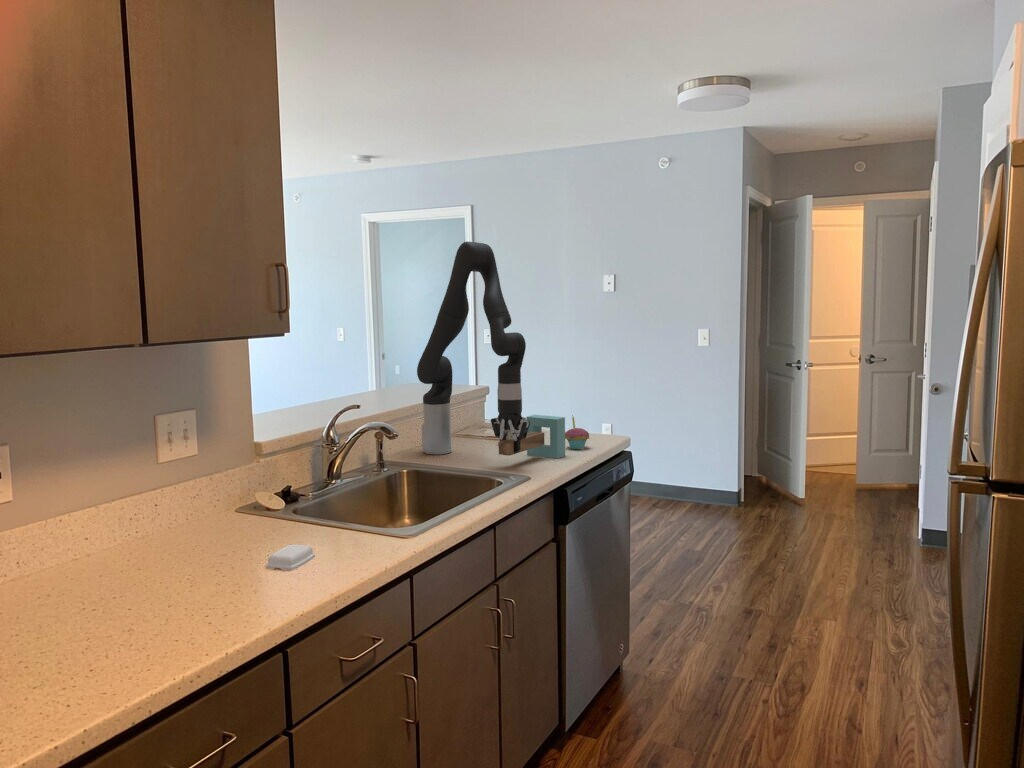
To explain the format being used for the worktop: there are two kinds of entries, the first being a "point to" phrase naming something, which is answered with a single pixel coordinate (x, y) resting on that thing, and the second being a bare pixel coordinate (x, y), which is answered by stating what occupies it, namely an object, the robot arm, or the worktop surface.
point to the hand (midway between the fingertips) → (510, 451)
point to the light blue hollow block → (556, 435)
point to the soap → (290, 557)
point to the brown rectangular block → (521, 443)
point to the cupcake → (576, 437)
